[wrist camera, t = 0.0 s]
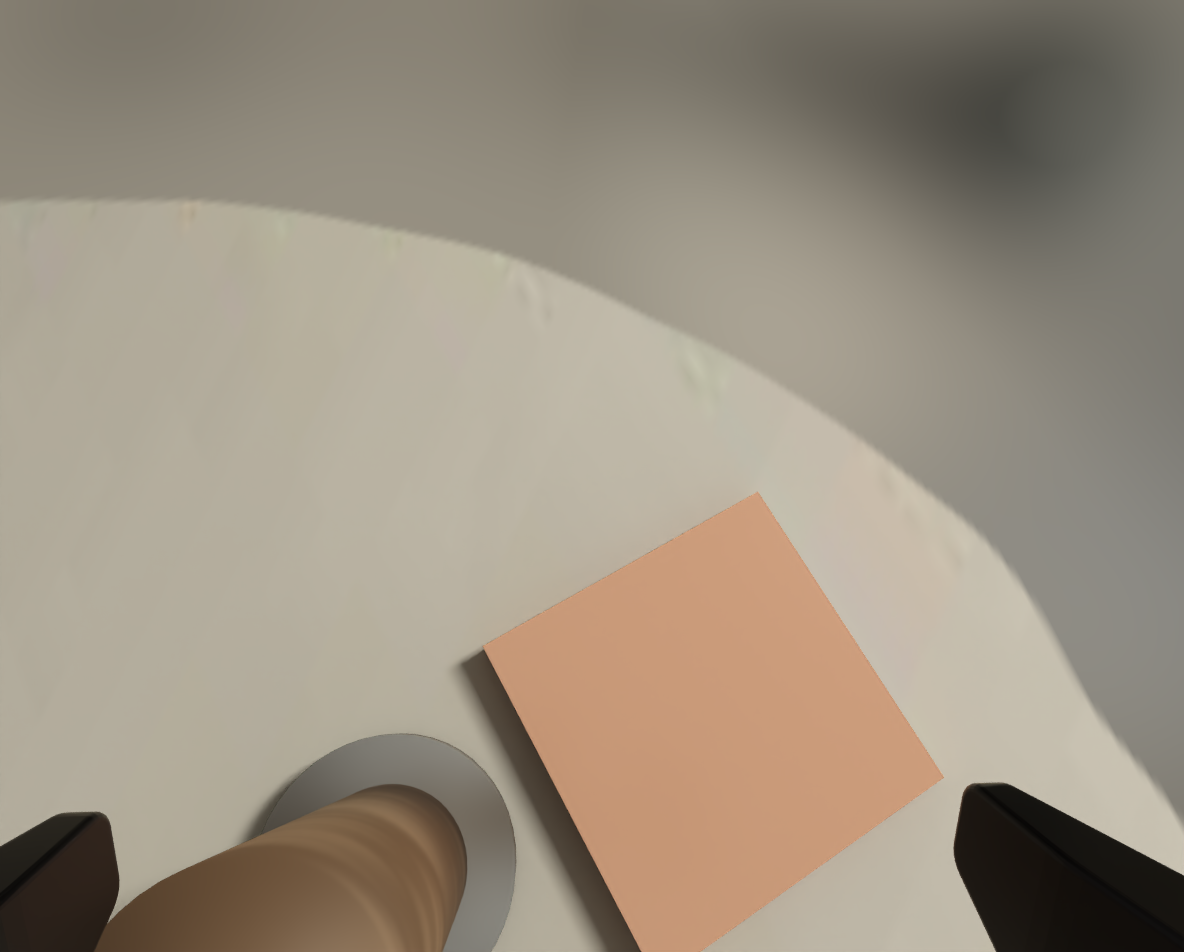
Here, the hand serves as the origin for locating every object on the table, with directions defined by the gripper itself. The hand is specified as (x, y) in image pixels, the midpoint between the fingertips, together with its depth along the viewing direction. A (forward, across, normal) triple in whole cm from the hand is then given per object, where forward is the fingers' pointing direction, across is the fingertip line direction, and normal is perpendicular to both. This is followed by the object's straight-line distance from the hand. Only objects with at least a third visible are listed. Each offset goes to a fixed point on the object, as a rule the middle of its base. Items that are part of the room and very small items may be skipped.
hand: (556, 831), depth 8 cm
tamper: (+11, +4, +10) cm, 16 cm away
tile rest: (+13, -5, +7) cm, 16 cm away
